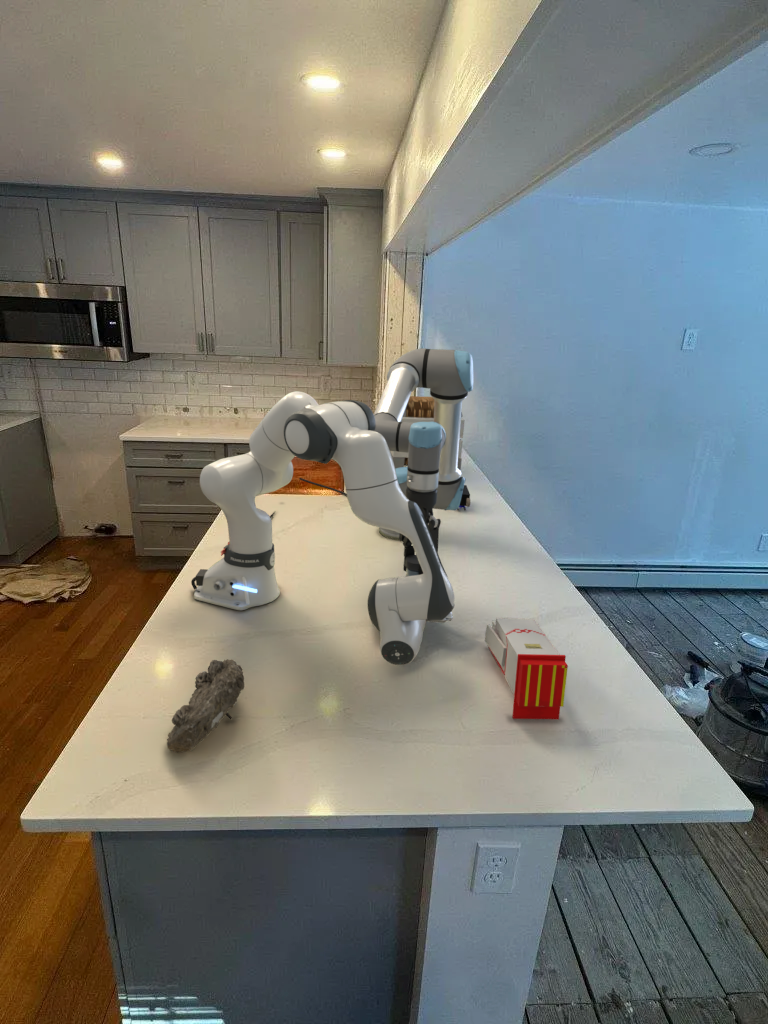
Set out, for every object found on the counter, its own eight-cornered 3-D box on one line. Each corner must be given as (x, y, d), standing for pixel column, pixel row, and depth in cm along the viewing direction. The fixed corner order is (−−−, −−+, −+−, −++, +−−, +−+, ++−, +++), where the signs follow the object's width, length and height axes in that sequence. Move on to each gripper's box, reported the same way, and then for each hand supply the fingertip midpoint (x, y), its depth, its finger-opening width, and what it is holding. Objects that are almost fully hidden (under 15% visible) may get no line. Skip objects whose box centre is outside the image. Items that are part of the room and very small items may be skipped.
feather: (282, 505, 226) (285, 501, 225) (264, 529, 199) (267, 524, 198) (279, 503, 225) (281, 499, 225) (260, 526, 199) (263, 522, 198)
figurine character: (470, 515, 225) (465, 499, 238) (472, 498, 221) (467, 483, 235) (453, 515, 224) (449, 499, 238) (455, 497, 221) (451, 482, 234)
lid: (430, 564, 144) (431, 557, 144) (423, 572, 139) (423, 565, 139) (410, 559, 146) (410, 552, 146) (401, 568, 142) (402, 561, 141)
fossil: (192, 660, 117) (244, 628, 112) (224, 691, 120) (276, 661, 115) (142, 746, 98) (202, 712, 93) (182, 779, 101) (242, 748, 96)
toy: (531, 603, 136) (576, 661, 106) (526, 655, 139) (569, 725, 109) (481, 602, 135) (512, 660, 106) (477, 654, 138) (507, 724, 109)
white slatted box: (382, 463, 289) (386, 382, 275) (445, 464, 293) (451, 384, 279) (390, 482, 257) (394, 392, 243) (460, 483, 261) (468, 394, 247)
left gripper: (453, 610, 131) (456, 583, 144) (366, 599, 134) (377, 574, 147) (450, 634, 133) (454, 605, 146) (365, 622, 136) (376, 596, 149)
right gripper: (387, 479, 141) (383, 563, 149) (432, 501, 127) (425, 593, 134) (412, 475, 145) (407, 558, 153) (458, 496, 130) (450, 586, 138)
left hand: (414, 589), depth 146 cm, fingers closed on jar, 5 cm apart
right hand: (415, 574), depth 144 cm, fingers open, 6 cm apart
